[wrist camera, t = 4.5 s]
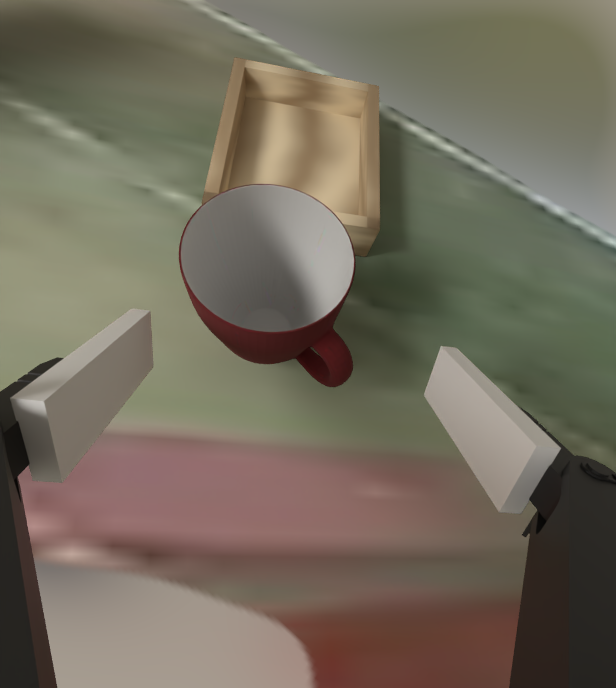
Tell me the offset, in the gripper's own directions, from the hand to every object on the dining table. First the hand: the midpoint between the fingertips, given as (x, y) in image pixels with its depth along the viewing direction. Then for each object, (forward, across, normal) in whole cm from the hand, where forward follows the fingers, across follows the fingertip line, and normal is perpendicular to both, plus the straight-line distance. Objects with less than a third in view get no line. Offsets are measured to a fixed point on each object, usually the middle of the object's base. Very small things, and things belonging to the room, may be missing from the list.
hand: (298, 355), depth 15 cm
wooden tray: (+20, -1, +8) cm, 22 cm away
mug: (+9, -1, -4) cm, 9 cm away
